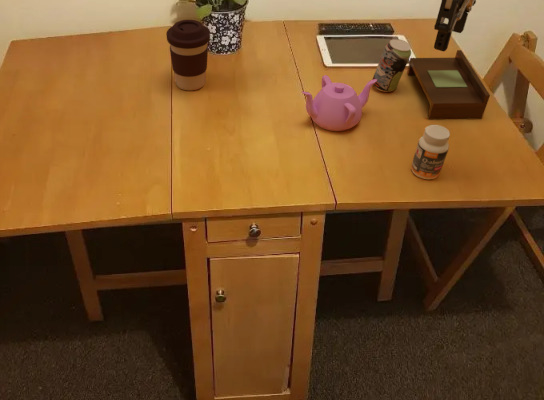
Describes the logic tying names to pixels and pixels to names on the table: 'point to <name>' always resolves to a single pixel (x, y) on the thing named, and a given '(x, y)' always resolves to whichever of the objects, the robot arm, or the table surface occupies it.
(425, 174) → the pill bottle
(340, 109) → the teapot
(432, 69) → the shelf
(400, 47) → the beverage can
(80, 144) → the table surface
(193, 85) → the coffee cup
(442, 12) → the robot arm
